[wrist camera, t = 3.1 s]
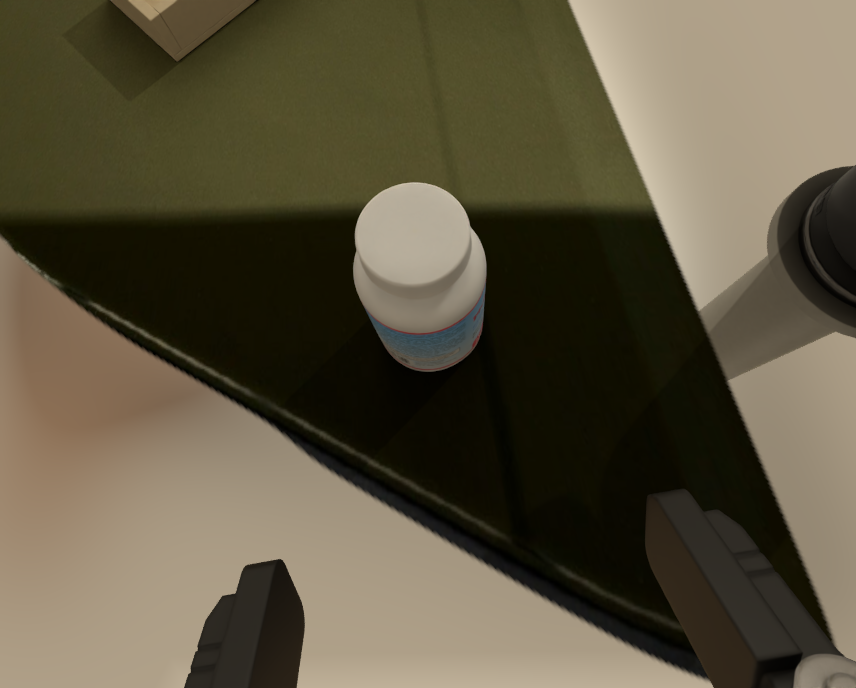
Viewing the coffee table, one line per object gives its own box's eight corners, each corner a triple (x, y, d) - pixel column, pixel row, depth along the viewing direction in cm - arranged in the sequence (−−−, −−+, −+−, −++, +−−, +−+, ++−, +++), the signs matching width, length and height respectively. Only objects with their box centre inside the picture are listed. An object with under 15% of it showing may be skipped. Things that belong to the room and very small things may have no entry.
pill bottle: (498, 350, 31) (516, 269, 20) (401, 389, 31) (366, 329, 20) (458, 262, 33) (455, 144, 22) (365, 299, 32) (316, 198, 22)
